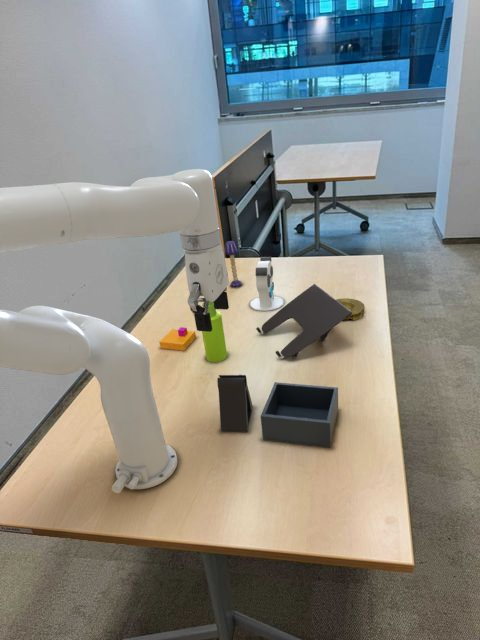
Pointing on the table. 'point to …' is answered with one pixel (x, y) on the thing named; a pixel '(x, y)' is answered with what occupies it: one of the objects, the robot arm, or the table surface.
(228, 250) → the toy lamp
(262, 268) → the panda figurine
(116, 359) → the robot arm
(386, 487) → the table surface
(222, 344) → the soap dispenser
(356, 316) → the compass
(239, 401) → the phone stand
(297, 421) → the tote
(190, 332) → the orange tile with knob
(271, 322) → the laptop tray
